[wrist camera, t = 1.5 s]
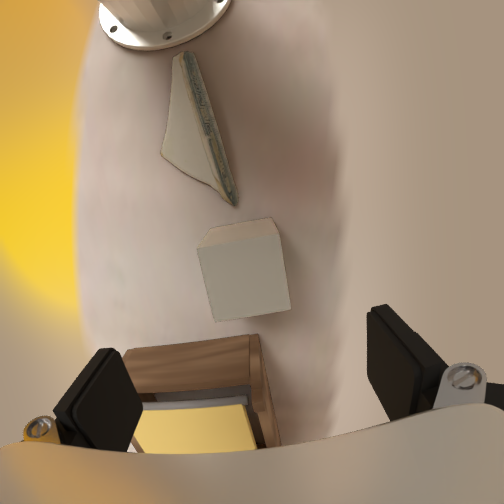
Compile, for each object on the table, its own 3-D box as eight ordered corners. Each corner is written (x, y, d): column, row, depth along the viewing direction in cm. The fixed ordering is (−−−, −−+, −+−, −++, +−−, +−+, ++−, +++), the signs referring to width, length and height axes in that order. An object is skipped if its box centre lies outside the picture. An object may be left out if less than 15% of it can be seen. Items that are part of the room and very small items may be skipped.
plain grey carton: (210, 228, 25) (196, 248, 18) (271, 217, 25) (279, 233, 18) (223, 285, 26) (214, 322, 20) (280, 274, 26) (291, 309, 19)
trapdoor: (117, 399, 21) (113, 407, 20) (246, 391, 21) (246, 400, 20) (174, 490, 25) (173, 496, 24) (273, 486, 24) (273, 493, 24)
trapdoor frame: (127, 348, 28) (94, 401, 20) (257, 332, 27) (260, 392, 19) (177, 453, 32) (166, 504, 24) (281, 445, 32) (287, 500, 23)
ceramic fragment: (240, 202, 25) (239, 206, 21) (181, 220, 25) (169, 227, 22) (197, 51, 22) (189, 33, 18) (141, 71, 22) (125, 57, 18)
